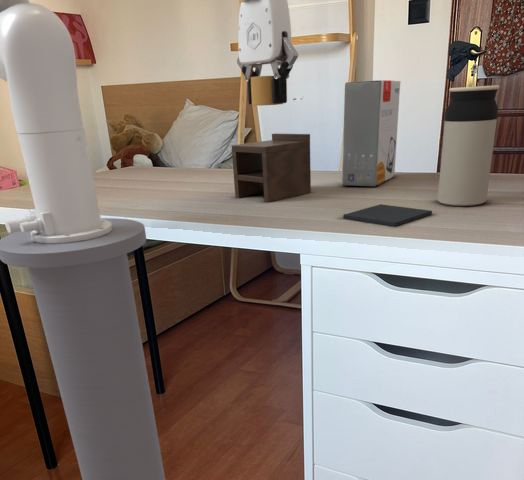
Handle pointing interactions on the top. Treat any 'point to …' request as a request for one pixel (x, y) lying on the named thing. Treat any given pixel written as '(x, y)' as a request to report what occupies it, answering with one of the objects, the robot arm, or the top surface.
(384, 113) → the hard drive box
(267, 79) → the tape roll
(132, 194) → the top surface
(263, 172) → the rack
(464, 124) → the travel mug
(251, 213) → the top surface
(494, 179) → the top surface
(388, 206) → the mat
